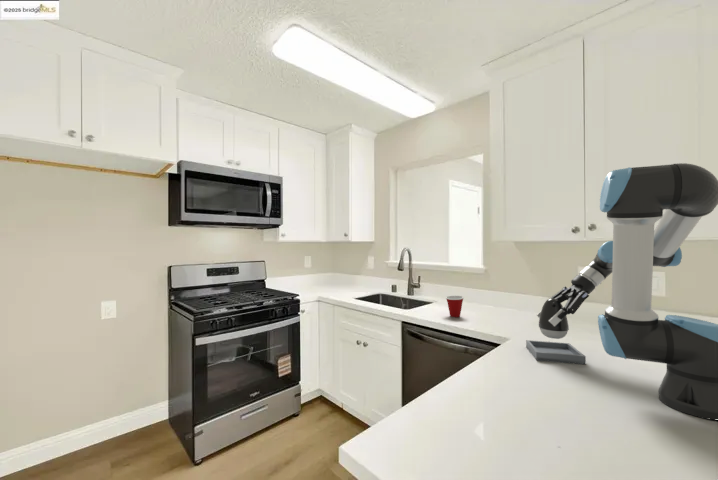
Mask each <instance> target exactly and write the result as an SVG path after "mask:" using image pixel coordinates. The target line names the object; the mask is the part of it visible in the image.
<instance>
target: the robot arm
mask: <svg viewBox="0 0 718 480" xmlns="http://www.w3.org/2000/svg"><path fill="white" fill-rule="evenodd" d="M599 197H600V198H599V210H600V212H603V213H606V219H607V220H609V221H610V222H611V223H612V225H613V227H612V228H613V229H612V240H608V241H606V242H604V243H602V245H600V247H599V248H598V250H597V253H596V255H595V257H594V259H592V261H591V262H589V264H587V265H586V266H584V268H583V269H582V270H580V271H579V273H578V274H576V276H574V277H573V278H572V279H571V280H570V282H571V285H570V286H569V287H567V286H566V285H564V286H563V287H562V288H561V289H560V290H559V291H558V292H556V293H554V294H553V295H552V296H551V297H550V298H549V299H551V298H554V299H557V300H558V301H560V303H561V304H562V303H563V302H565V301H566V303H565V304H564V305H563V307H562V309H563V310H562V309H560V310H559V311H558V312H557V313H556V314H555V315H554V316H553V317H552V318H551V319H550V320H549V322H550V323H551V324H552V325H553V326H556V325H557V324H558V323H559V322H560V321H561V320H562V319H563V318H564V317H565V316H568V315H570V314H571V315H574V314H575V313H576V312H577V311H578V310H579V308H580V307H581V306H582V304H583V303H584V302H585V300H587V299H588V298H589V297H590V294H591V293H592V292H593V291H594V290H596V287H598V286H599V285H601V284H602V282H604V281H605V280H606V279H607V277H608V276H610V275H611V304H610V305H608V306H606V307H605V309H604V314H599V315H598V316H597V324H598V329H599V335H600V339H601V344H602V347H603V349H604V351H605V353H606V354H607V355H609V356H612V357H616V358H620V359H625V360H627V359H628V360H635V361H642V362H643V361H644V362H651V363H659V364H666V372H665V375H664V377H663V379H662V381H661V384H660V386H659V387H658V394H657V395H658V399H659V400H660V401H661V402H662V403H663V404H664V405H666V406H668V407H670V408H671V409H674V410H676V411H679V412H681V413H684V414H687V415H691V416H694V417H697V416H698V417H697V418H701V417H703V418H702V419H705V418H710V419H718V324H717V323H715V322H711V321H708V320H702V319H699V318H693V317H690V316H689V317H688V316H683V315H676V314H675V315H674V314H673V315H672V314H667V315H665V317H664V319H663V320H662V319H659V314H657V312H655V311H654V310H653V309H652V302H653V301H652V298H653V297H652V296H653V295H652V294H653V272H654V271H653V270H654V269H653V268H654V267H661V268H665V267H677V266H679V265H680V264H681V263H682V257H683V255H682V249H681V246H682V244H683V243H684V242H685V240H686V239H687V238H688V236H689V235H690V233H691V232H693V230H694V228H695V227H696V226H697V224H698V223H699V221H700V220H702V217H705V216H708V215H709V214H711V213H712V212H713V211H714V210H715V209H716V207H717V206H718V179H717V177H716V176H715V175H714V174H713V173H712V172H711V171H709V170H708V169H706V168H704V167H703V166H700V165H697V164H693V163H686V162H685V163H684V162H682V163H680V162H679V163H671V164H662V165H661V164H660V165H651V166H647V165H646V166H637V167H626V168H620V169H615V170H614V169H613V170H611V171H610V172H608V173H607V175H606V176H605V178H604V180H603V183H602V186H601V192H600V195H599ZM657 222H658V223H657ZM656 223H657V225H656V227H655V224H656ZM540 313H541V310H540V311H539V312H537V313H536V317H537V318H539V317H540ZM710 419H709V420H710Z"/></svg>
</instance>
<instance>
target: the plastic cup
mask: <svg viewBox="0 0 718 480" xmlns="http://www.w3.org/2000/svg"><path fill="white" fill-rule="evenodd" d="M464 298H465V297H464V296H462V295H448V296H445V299H446V302H447V307H448V312H449V316H450V317H452V318H459V317H461V312H462V307H463V301H464Z"/></svg>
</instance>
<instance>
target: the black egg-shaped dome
mask: <svg viewBox="0 0 718 480" xmlns="http://www.w3.org/2000/svg"><path fill="white" fill-rule="evenodd" d="M550 298H551V297H550ZM550 298H548V299H546V300H545V302H544V303H543V305H542V308H541V309H540V311H541V313H540V317H538V318H539V319H538V328H539V330H540V332H541V334H542V335H543V336H544V337H547V338H549V339H556V340H559V339H563V338H565V337H566V336H567V334H568V331H569V330H570V327H569V326H570V325H569V320H568V317H567V316H568V315H566V316H565V317H564V318H563V319H562V320H561V321H560V322H559V323H558V324H557V325H556V326H553V325H552V324H551V323H550V322H549V320H550V319H551V318H552V317H553V316H554V315H555V314H556V313H557V312H558V311H559V310H560V309H562V307H564V305H563V304H562V303H560V301H558V300H557V299H554V298H551V299H550ZM562 310H563V309H562Z"/></svg>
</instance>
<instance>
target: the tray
mask: <svg viewBox="0 0 718 480" xmlns="http://www.w3.org/2000/svg"><path fill="white" fill-rule="evenodd" d="M525 342H526V343H525V348H526V349H527V350H528V351H529V353H530V354H531V355H532V357H533V358H534V359H535V361H540V362H541V361H543V362H551V363H562V362H563V363H562V364H573V363H574V364H575V365H586V362H587V361H586V360H587V359H586V355H584V353H582V352H581V351H580V350H579V349H577V348H576V347H574V346H573V345H572V344H571V343H567V342H557V341H556V342H555V341H554V342H553V341H546V340H545V341H542V340H528V339H526V340H525Z"/></svg>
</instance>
